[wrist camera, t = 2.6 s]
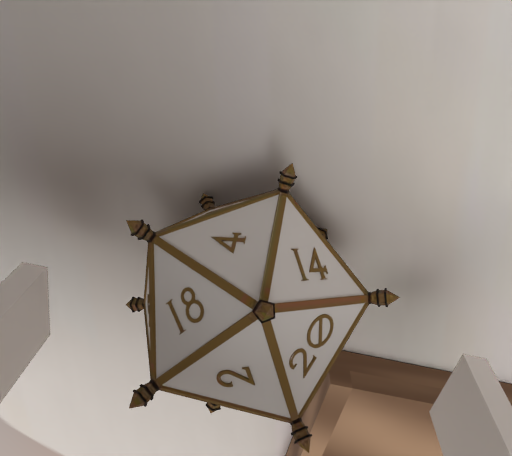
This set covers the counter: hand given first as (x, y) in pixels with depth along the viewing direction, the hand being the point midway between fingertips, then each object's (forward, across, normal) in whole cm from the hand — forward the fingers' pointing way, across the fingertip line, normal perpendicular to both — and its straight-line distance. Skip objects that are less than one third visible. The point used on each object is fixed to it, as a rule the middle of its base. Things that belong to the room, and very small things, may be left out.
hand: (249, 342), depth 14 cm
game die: (+6, 0, 0) cm, 6 cm away
